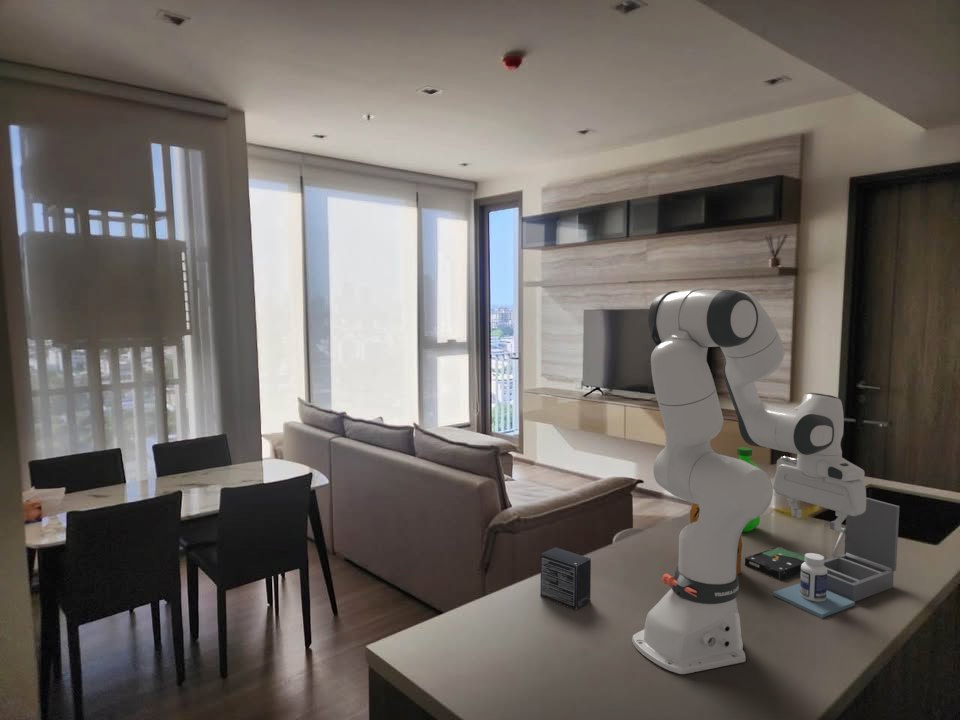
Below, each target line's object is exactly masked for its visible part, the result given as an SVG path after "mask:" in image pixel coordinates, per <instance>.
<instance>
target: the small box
mask: <svg viewBox="0 0 960 720" xmlns="http://www.w3.org/2000/svg"><path fill="white" fill-rule="evenodd" d="M539 556H540V597H541V598H543V599H547V600H549V601H552V602H554V601H555V602H554V603H557V602H558V603H557V604H559V603H560V604H559V605H562V606H564V605H565V607H567V606H568V607H567V608H569V607H570V609H572V608H573V609H572V610H574V609H575V610H574V611H577V610H580V608H582V607H583V606H585V605H586V604H588V603H590V602H591V585H592V583H591V575H592V571H591V569H592V567H591V566H592V558H591V557H587V556H584V555H582V554H579V553H574V552H571V551H568V550H565V549H562V548H559V547H553V548H552V547H551V549H548V550H546V551H544V552H542V553H540V555H539Z"/></svg>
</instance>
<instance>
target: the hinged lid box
mask: <svg viewBox="0 0 960 720" xmlns="http://www.w3.org/2000/svg"><path fill="white" fill-rule="evenodd" d="M899 519H900V505H896V504H892V503H888V502H886V501H885V502H884V501H881V500H877V499H874V498H870V497H867V496H866V510H865V512H864V513H863V514H861V515H858V516H851V515H847V517H846V518H845V527H841V530H840V531H839V536H838V538H837V541H836V543H835V544H834V545H835V546H834V548H833V550H832V554H831V556H832V557H830V558H826V559H824V566H825V567H826V568H827V590H828V591H830V592H832V593H835V594H837V595H839V596H842V597H844V598H847V599H849V600H851V601H854V602H855V603H856V602H858V601H861V600H863V599H865V598H868V597H871V596H874V595H876V594H879V593H882V592H884V591H887V590H889V589H893V588H894V574H895V573H894V572H896V571H897V561H898V559H897V557H898V541H899V538H898V537H899V524H900V523H899V522H900V521H899ZM844 536H845V537H844ZM843 538H844V553H842V554H839V555H837V552H838V550H839V548H840V545H841V542H842V541H843Z"/></svg>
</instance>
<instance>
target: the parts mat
mask: <svg viewBox="0 0 960 720" xmlns="http://www.w3.org/2000/svg"><path fill="white" fill-rule="evenodd" d="M772 596H774V597H775V598H778V599H780V600H782V601H784V602H787V603H789V604H791V605H793V606H795V607H797V608H799V609H801V610H803V611H805V612H808V613H810V614H812V615H814V616H816V617H819V618H820V619H822V618H826V617H829V616H831V615H833V614H836V613H839V612H841V611H844V610H846V609H850V608H852V607H854V606H855V604H856V602H854V601H851V600H849V599H847V598H844V597H842V596H839V595H837V594H835V593H832V592H830V591H828V590H827V592H826V600H825V601H822V602H815V601H810V600H807V599H805V598H803V597H802V596H801V595H800V582H799V583H796V584H793V585H790V586H787V587H784V588H781V589H778V590H776V591H773V592H772Z"/></svg>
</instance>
